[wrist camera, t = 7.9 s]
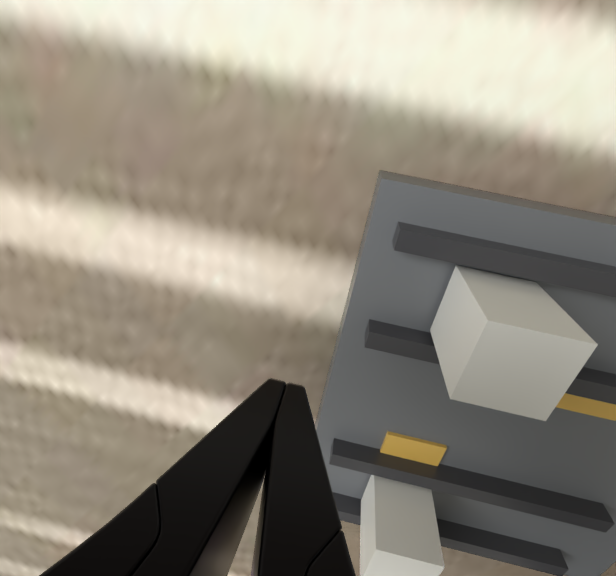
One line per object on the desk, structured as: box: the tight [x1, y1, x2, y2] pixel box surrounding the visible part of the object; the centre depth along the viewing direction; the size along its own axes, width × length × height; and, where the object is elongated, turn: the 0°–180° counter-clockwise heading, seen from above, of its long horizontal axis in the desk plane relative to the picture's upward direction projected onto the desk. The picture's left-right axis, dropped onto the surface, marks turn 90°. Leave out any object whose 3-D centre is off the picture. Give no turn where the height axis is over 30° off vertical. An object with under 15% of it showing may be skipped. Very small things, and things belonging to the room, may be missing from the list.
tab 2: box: [430, 265, 598, 421], centre depth 12 cm, size 3×3×4 cm
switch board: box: [315, 170, 616, 576], centre depth 17 cm, size 18×20×3 cm
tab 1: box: [360, 475, 445, 576], centre depth 18 cm, size 3×3×4 cm
